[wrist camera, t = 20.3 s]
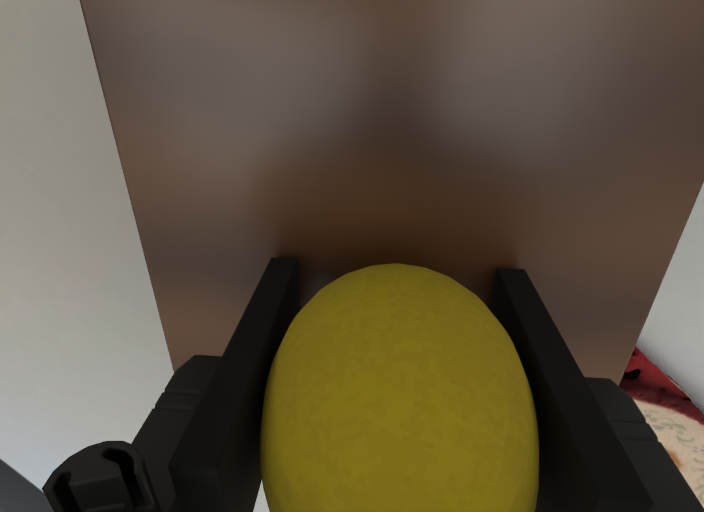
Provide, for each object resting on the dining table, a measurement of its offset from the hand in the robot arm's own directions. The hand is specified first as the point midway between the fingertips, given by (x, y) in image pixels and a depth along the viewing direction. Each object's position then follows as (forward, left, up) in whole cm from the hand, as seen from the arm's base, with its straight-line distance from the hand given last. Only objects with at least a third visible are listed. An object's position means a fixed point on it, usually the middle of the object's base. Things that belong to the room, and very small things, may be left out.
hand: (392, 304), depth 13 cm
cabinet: (0, 0, -11) cm, 11 cm away
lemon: (0, 0, -1) cm, 1 cm away
